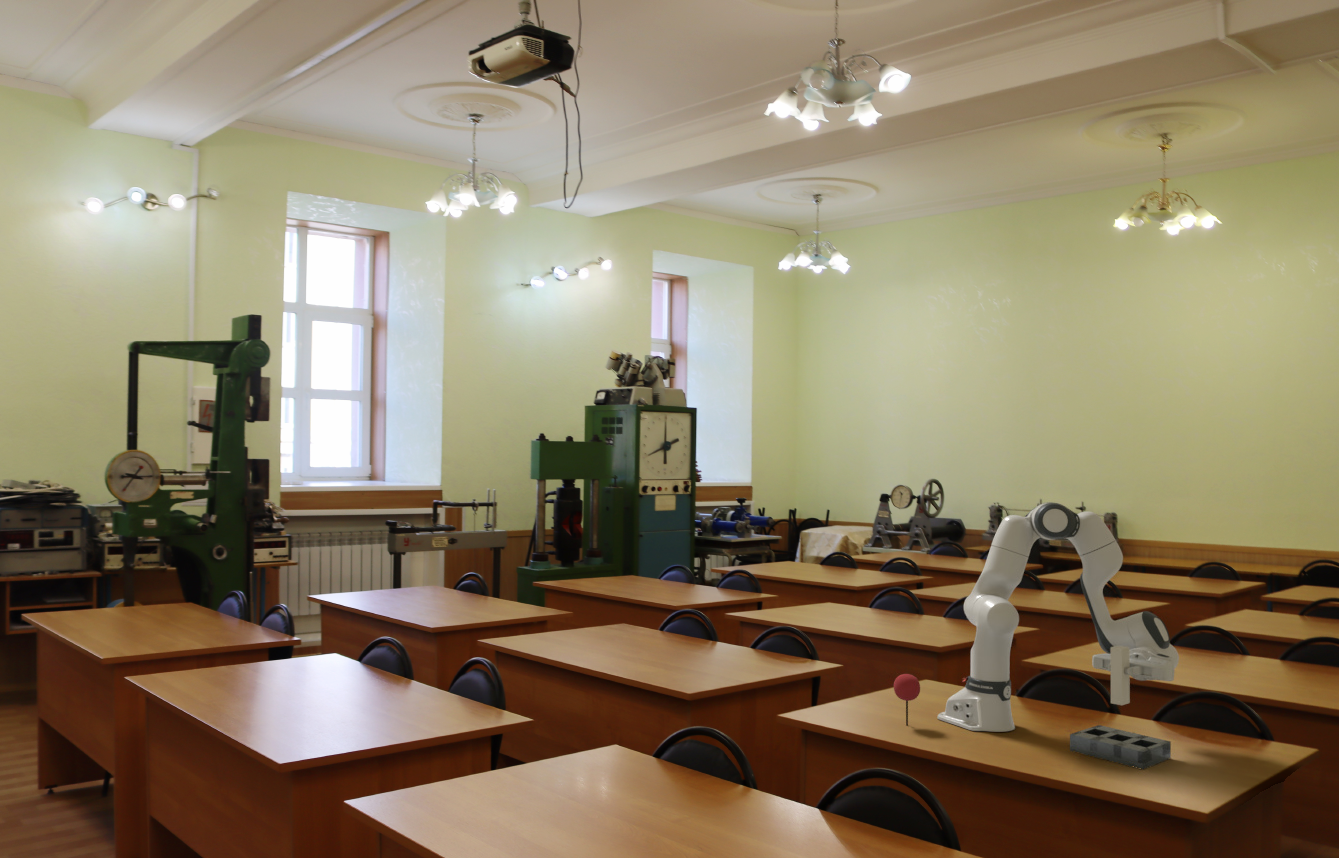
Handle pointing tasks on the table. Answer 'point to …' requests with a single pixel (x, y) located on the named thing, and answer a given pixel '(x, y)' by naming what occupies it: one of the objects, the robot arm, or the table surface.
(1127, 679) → the clay bar
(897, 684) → the lollipop
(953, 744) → the table surface
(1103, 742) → the rack
